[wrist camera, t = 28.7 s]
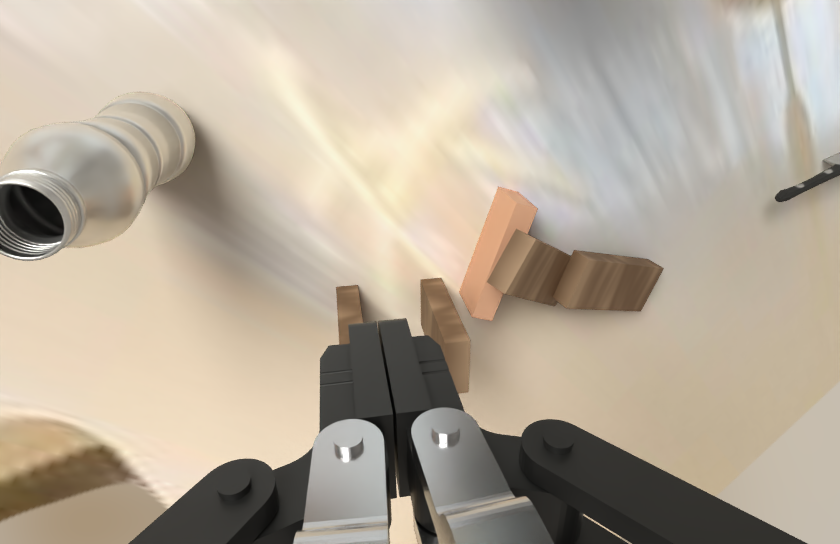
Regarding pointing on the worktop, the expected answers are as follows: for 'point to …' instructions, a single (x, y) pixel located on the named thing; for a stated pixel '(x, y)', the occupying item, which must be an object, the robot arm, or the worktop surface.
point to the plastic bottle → (89, 175)
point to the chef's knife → (812, 180)
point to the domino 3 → (494, 250)
